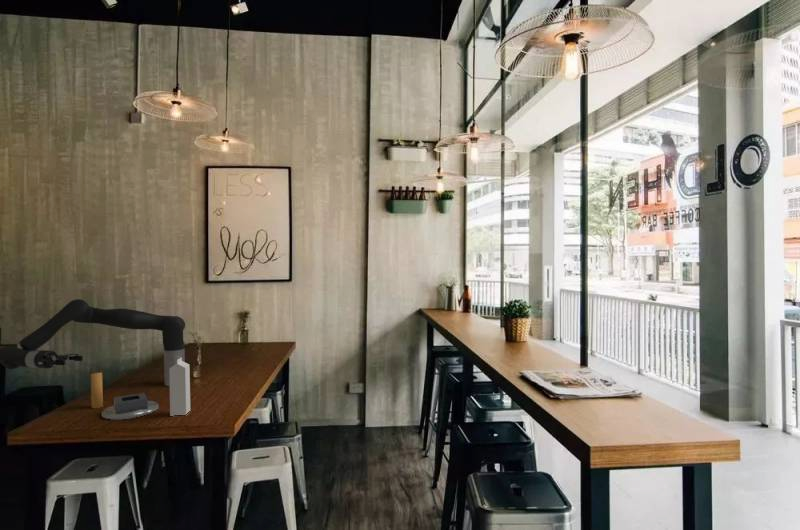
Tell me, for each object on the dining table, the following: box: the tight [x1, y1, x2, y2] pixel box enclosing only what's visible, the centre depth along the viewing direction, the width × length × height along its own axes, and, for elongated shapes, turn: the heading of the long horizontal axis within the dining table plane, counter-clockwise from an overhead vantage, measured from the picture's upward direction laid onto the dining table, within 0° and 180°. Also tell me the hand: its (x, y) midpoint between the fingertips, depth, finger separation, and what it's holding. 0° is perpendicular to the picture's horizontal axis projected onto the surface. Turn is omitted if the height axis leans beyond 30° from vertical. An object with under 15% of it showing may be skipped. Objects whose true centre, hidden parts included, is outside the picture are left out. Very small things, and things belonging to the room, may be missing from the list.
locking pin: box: [90, 372, 104, 409], centre depth 199 cm, size 4×4×14 cm
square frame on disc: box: [101, 392, 159, 421], centre depth 192 cm, size 20×20×6 cm
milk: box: [169, 357, 191, 417], centre depth 188 cm, size 6×6×22 cm
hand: (73, 360), depth 201 cm, fingers open, 8 cm apart
